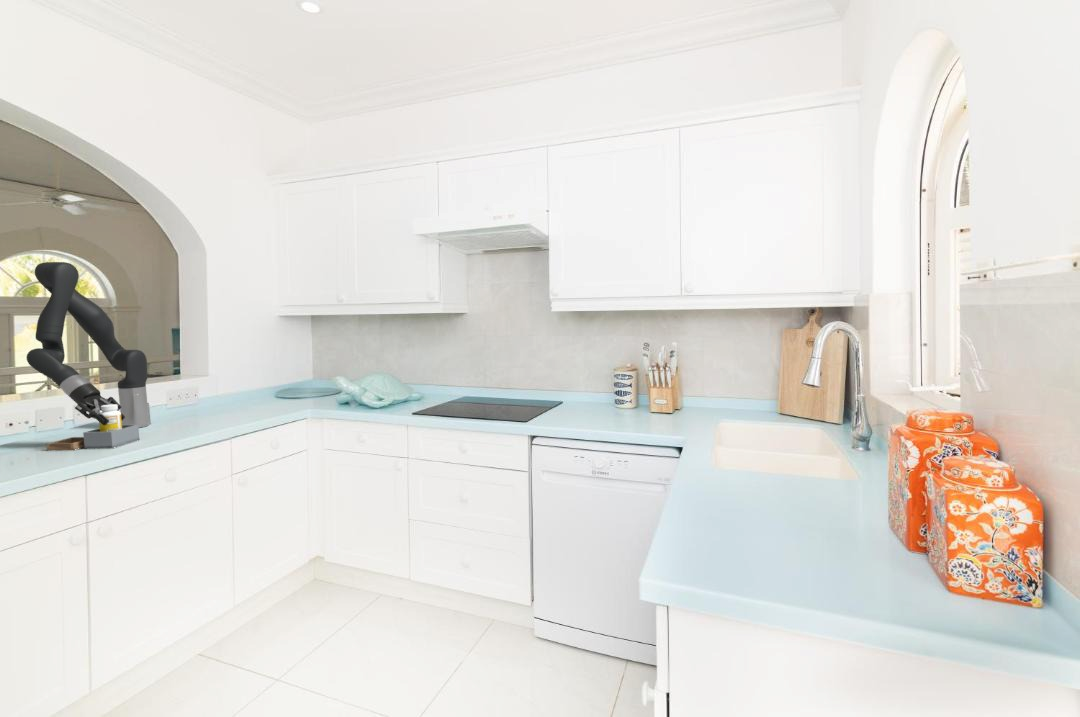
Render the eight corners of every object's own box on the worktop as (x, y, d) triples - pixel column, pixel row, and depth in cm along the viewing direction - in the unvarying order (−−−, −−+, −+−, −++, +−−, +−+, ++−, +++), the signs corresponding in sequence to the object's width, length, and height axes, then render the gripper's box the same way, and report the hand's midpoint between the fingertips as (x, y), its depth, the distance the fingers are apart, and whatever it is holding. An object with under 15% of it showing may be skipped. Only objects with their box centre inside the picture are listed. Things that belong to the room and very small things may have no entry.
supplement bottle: (112, 437, 180) (110, 406, 179) (95, 437, 180) (92, 407, 179) (127, 433, 187) (124, 403, 186) (110, 433, 187) (108, 403, 186)
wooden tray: (72, 443, 186) (71, 437, 186) (98, 443, 186) (97, 436, 186) (47, 450, 176) (46, 444, 176) (74, 450, 176) (73, 443, 176)
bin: (113, 440, 190) (112, 425, 189) (139, 440, 190) (138, 424, 189) (84, 449, 178) (83, 432, 177) (112, 448, 178) (111, 432, 177)
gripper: (68, 385, 175) (104, 418, 176) (103, 380, 189) (137, 410, 190) (54, 400, 175) (90, 433, 176) (91, 394, 190) (124, 424, 191)
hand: (114, 421), depth 183 cm, fingers closed on supplement bottle, 6 cm apart
